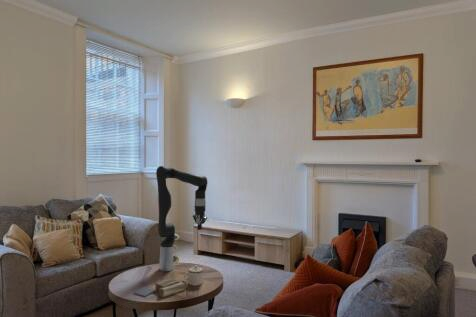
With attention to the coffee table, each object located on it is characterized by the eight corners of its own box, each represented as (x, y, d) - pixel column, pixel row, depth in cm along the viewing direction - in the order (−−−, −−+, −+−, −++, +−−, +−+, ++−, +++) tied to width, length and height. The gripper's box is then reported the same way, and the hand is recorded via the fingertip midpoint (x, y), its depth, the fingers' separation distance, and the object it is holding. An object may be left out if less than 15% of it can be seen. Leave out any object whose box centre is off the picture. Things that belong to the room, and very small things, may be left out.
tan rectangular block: (155, 291, 205) (155, 282, 205) (171, 285, 214) (171, 277, 214) (163, 294, 200) (163, 286, 200) (179, 289, 209) (179, 281, 209)
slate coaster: (133, 293, 200) (133, 292, 200) (144, 288, 208) (144, 287, 208) (145, 296, 196) (145, 295, 196) (155, 291, 204) (155, 290, 204)
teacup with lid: (201, 280, 224) (201, 262, 223) (203, 285, 215) (203, 267, 215) (183, 281, 221) (183, 263, 221) (184, 286, 212) (184, 268, 212)
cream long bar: (159, 296, 197) (159, 288, 197) (183, 287, 211) (183, 280, 211) (162, 297, 195) (162, 289, 195) (186, 288, 209) (186, 281, 209)
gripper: (189, 204, 233) (189, 228, 233) (202, 206, 224) (202, 232, 225) (197, 203, 239) (197, 227, 239) (210, 205, 230) (210, 230, 230)
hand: (199, 229), depth 232 cm, fingers closed
